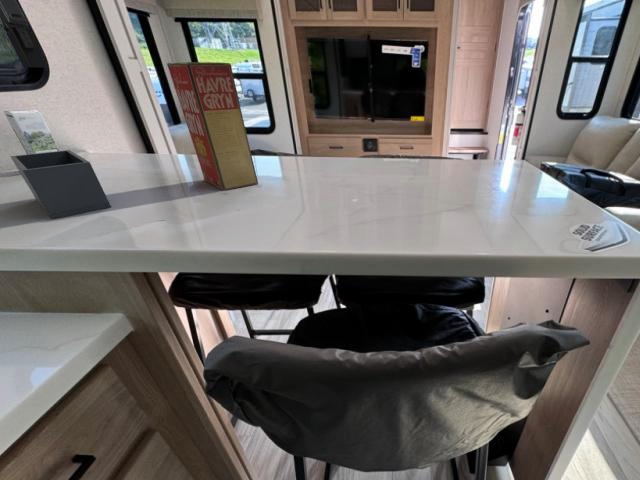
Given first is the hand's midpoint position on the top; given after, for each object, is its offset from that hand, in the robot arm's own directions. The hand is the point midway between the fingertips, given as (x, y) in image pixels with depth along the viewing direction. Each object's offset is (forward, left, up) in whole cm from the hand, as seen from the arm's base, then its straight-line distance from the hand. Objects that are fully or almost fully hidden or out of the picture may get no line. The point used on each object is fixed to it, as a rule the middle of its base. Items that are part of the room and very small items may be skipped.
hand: (34, 67), depth 77 cm
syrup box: (-13, +6, -24) cm, 28 cm away
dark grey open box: (+14, -25, -24) cm, 37 cm away
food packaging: (+41, -9, -24) cm, 48 cm away
